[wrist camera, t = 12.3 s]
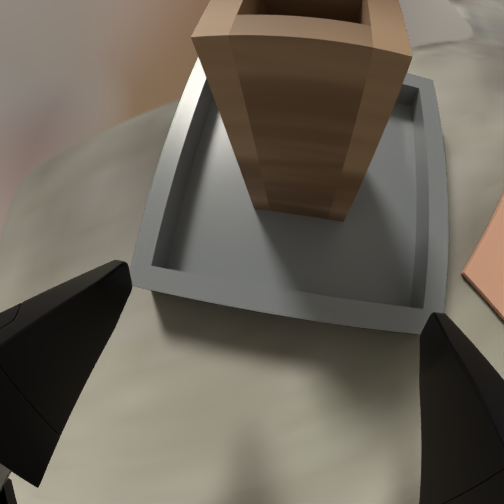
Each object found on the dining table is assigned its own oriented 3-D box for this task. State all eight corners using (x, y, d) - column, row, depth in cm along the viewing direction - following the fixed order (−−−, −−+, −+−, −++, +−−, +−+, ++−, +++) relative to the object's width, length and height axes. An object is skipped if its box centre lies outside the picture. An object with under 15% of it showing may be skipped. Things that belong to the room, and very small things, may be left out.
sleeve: (343, 221, 17) (412, 56, 5) (253, 208, 18) (191, 37, 6) (350, 121, 18) (382, -47, 6) (272, 111, 19) (247, -57, 7)
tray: (418, 334, 16) (440, 335, 13) (150, 290, 18) (126, 284, 15) (420, 105, 19) (432, 80, 16) (209, 79, 21) (199, 53, 19)
